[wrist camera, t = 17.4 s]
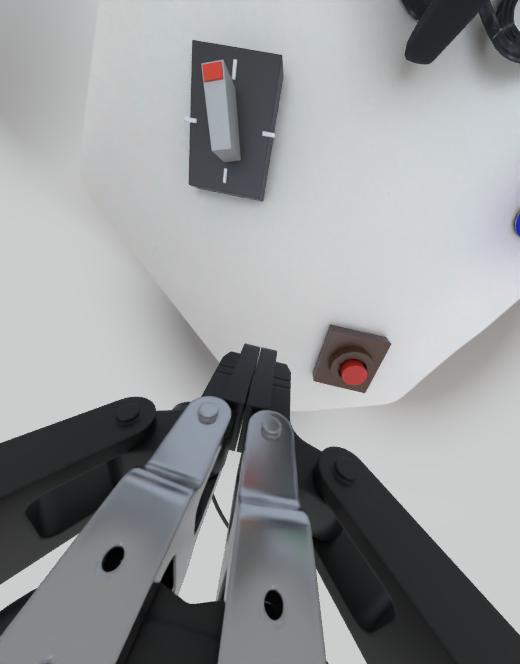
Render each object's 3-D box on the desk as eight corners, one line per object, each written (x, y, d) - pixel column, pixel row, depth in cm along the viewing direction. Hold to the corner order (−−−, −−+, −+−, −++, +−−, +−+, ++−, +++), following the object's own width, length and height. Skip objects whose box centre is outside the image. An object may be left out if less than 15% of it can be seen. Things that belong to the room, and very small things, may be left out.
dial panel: (267, 202, 29) (264, 199, 26) (193, 187, 29) (183, 183, 27) (289, 74, 23) (288, 54, 21) (198, 59, 24) (185, 37, 21)
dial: (241, 160, 25) (230, 147, 21) (224, 162, 25) (210, 150, 21) (235, 87, 22) (222, 57, 18) (216, 90, 23) (199, 61, 18)
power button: (358, 380, 35) (361, 387, 33) (336, 375, 35) (338, 382, 33) (368, 362, 33) (371, 368, 31) (344, 356, 33) (346, 363, 32)
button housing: (361, 385, 39) (368, 400, 36) (312, 373, 40) (314, 388, 36) (386, 337, 35) (396, 349, 31) (330, 324, 35) (334, 335, 32)
